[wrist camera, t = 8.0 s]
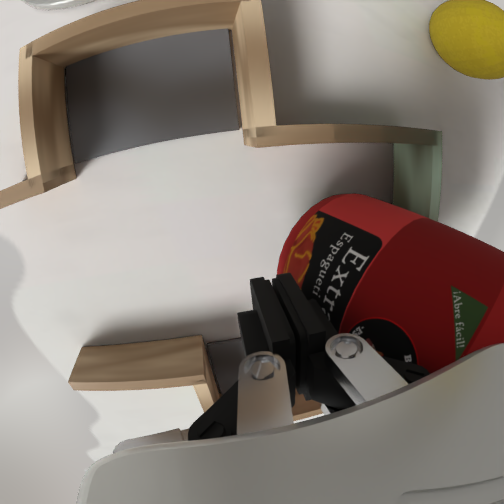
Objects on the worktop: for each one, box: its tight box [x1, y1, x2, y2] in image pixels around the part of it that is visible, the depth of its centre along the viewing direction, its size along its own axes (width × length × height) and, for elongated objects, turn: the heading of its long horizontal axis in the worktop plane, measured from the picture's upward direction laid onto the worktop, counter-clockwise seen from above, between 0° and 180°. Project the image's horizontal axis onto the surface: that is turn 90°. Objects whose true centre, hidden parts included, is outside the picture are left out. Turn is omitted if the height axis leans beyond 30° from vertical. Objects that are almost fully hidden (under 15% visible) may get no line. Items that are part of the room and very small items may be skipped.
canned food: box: [277, 193, 504, 374], centre depth 11 cm, size 8×8×11 cm
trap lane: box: [0, 0, 442, 421], centre depth 14 cm, size 25×23×4 cm
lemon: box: [429, 0, 504, 79], centre depth 8 cm, size 6×6×8 cm
